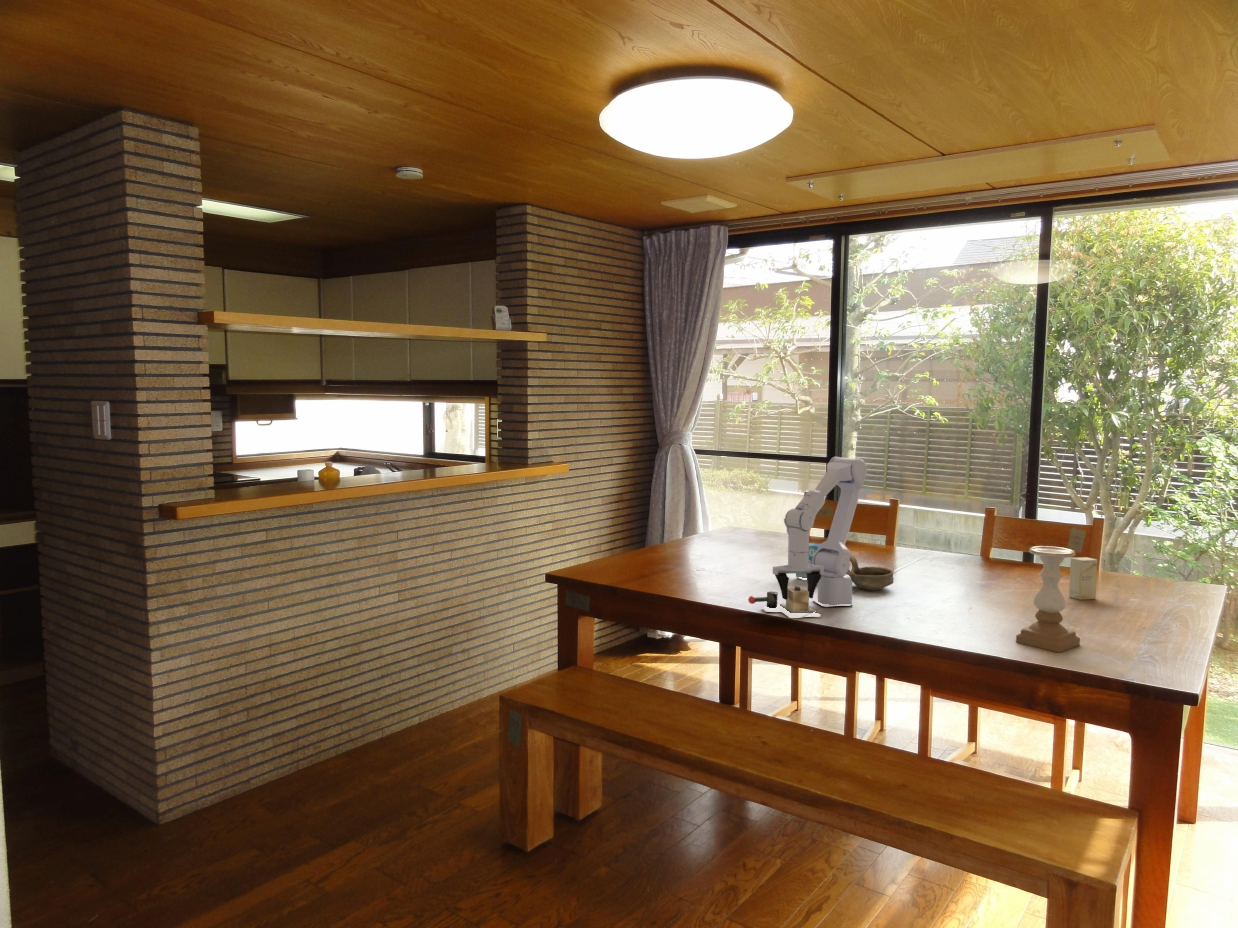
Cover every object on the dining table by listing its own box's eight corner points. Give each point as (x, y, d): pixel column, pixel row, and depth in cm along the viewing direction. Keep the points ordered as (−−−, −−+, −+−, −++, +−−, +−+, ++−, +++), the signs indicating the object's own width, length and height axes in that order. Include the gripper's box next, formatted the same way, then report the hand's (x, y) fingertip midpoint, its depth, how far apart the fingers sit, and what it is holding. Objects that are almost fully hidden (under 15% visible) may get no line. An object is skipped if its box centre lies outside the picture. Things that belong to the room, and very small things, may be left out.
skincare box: (1079, 600, 249) (1081, 560, 248) (1067, 596, 254) (1069, 557, 253) (1096, 598, 251) (1098, 559, 250) (1084, 595, 255) (1086, 556, 254)
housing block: (801, 603, 239) (801, 584, 239) (808, 609, 234) (809, 588, 233) (785, 604, 239) (786, 584, 238) (793, 609, 233) (793, 589, 233)
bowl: (882, 596, 254) (883, 564, 253) (831, 587, 266) (831, 556, 266) (902, 588, 264) (903, 558, 263) (852, 580, 276) (853, 550, 275)
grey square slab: (804, 606, 243) (804, 601, 243) (820, 617, 231) (820, 611, 231) (761, 608, 241) (761, 603, 240) (775, 619, 229) (775, 614, 229)
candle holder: (1058, 653, 200) (1063, 555, 198) (1014, 642, 209) (1018, 548, 206) (1080, 644, 206) (1085, 550, 204) (1037, 634, 215) (1041, 543, 213)
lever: (775, 604, 240) (775, 591, 239) (778, 607, 237) (779, 593, 236) (746, 606, 238) (746, 592, 238) (750, 608, 235) (750, 595, 235)
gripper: (816, 547, 240) (816, 593, 241) (769, 549, 237) (768, 595, 239) (827, 552, 233) (825, 599, 234) (777, 554, 230) (777, 601, 232)
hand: (797, 598), depth 236 cm, fingers open, 7 cm apart
